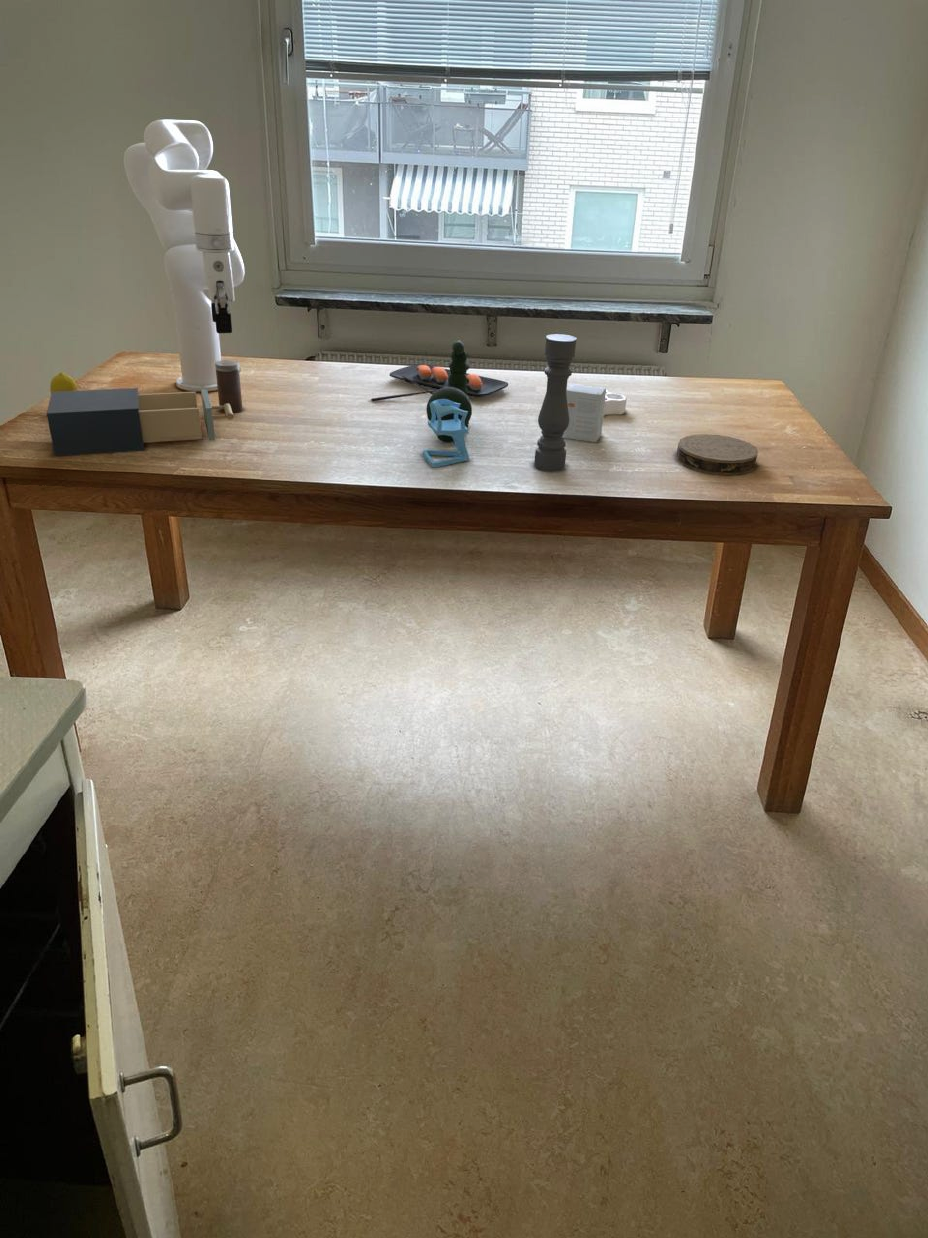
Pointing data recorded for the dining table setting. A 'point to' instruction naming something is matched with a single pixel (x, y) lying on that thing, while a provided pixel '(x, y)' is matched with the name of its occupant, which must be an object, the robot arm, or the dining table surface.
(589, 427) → the small box
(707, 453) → the tambourine
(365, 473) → the dining table surface
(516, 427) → the dining table surface
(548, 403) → the candle holder
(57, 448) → the cabinet
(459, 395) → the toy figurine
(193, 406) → the drawer
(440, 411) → the chair
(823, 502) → the dining table surface
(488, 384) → the sushi plate
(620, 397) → the white brass knuckles
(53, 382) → the lemon
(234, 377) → the brown lidded jar
